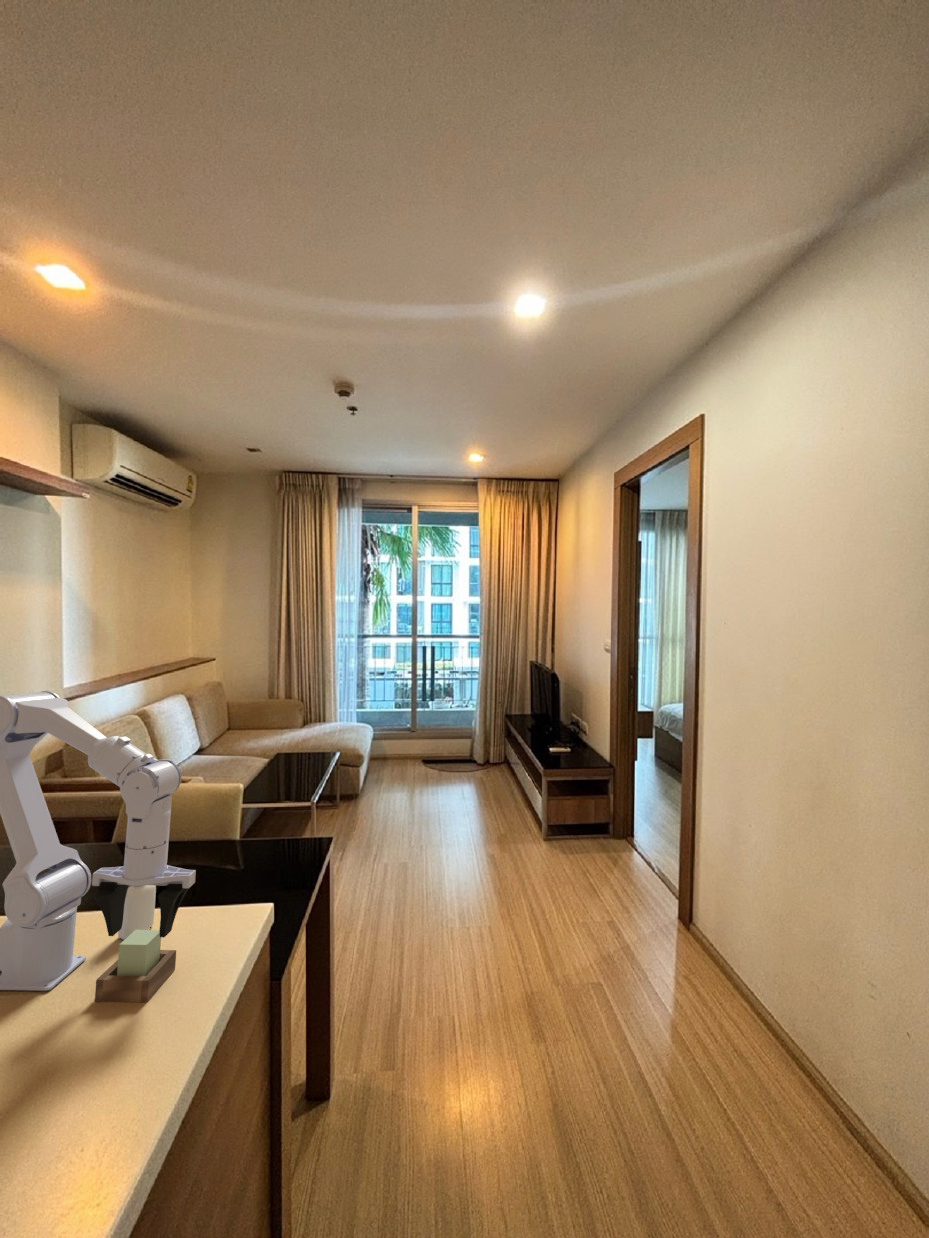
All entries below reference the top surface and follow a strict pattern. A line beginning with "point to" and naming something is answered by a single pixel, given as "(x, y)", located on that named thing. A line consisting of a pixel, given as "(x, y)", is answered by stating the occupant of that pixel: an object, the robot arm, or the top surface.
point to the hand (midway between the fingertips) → (140, 933)
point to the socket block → (134, 981)
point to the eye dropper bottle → (138, 909)
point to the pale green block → (139, 953)
